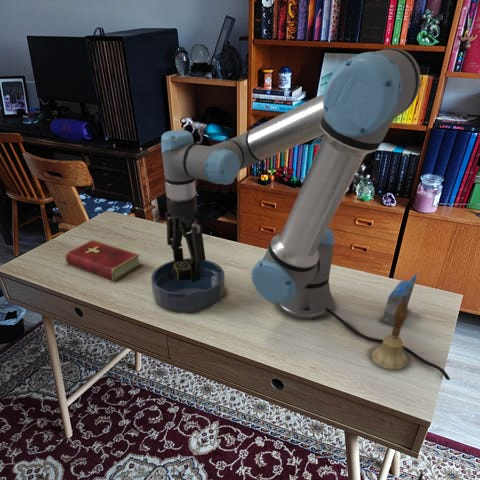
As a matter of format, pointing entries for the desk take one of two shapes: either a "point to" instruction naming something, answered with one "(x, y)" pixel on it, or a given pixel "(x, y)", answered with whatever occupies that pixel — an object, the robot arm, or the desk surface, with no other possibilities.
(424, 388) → the desk surface
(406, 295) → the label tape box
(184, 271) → the tape measure
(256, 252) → the desk surface
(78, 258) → the hardcover book
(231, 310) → the desk surface
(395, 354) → the hand bell
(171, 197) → the robot arm
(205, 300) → the bowl
